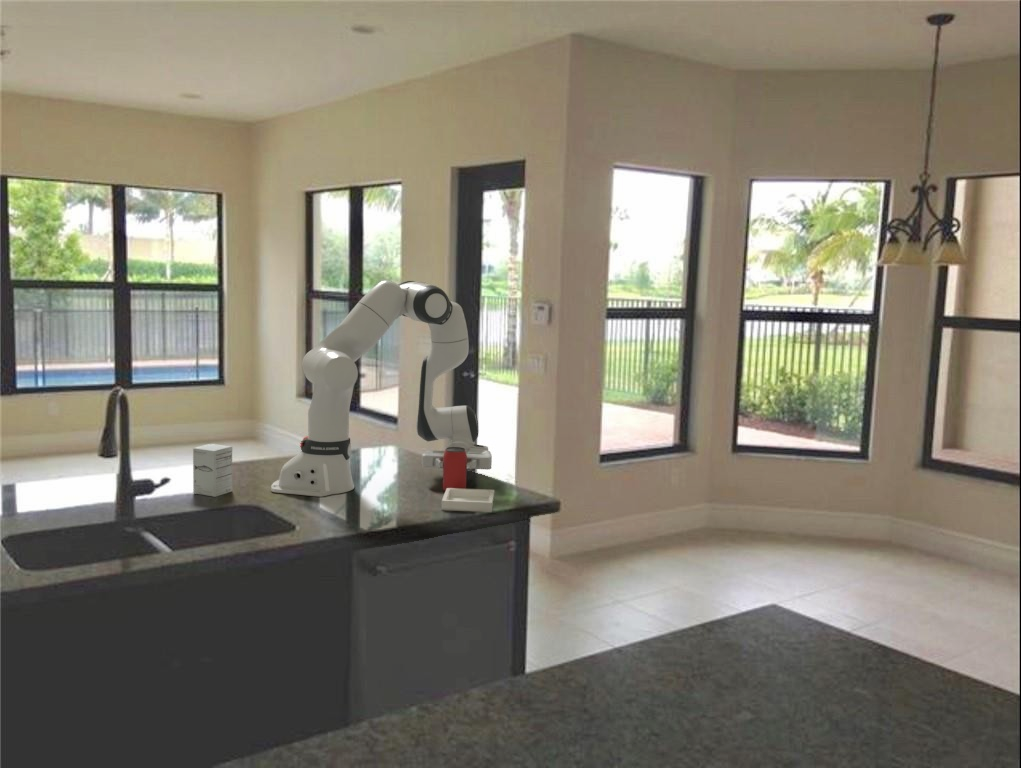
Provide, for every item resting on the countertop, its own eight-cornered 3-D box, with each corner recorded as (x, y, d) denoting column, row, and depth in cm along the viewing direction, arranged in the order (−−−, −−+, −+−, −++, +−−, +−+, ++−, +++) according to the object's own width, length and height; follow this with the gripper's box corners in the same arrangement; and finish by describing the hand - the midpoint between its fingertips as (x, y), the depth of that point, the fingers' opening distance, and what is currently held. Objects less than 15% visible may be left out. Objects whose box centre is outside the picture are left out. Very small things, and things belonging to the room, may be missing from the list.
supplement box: (192, 494, 224) (191, 447, 223) (211, 487, 231) (211, 442, 229) (214, 497, 221) (213, 450, 220) (233, 491, 228) (233, 445, 227)
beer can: (455, 494, 232) (456, 452, 231) (437, 490, 236) (438, 448, 235) (470, 490, 238) (471, 448, 236) (453, 486, 241) (454, 445, 240)
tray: (441, 510, 217) (441, 500, 217) (446, 496, 230) (446, 487, 230) (491, 512, 217) (492, 502, 216) (493, 498, 230) (494, 489, 229)
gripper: (424, 443, 249) (417, 453, 235) (493, 446, 248) (490, 456, 234) (423, 464, 249) (417, 475, 236) (492, 467, 249) (490, 478, 235)
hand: (454, 466), depth 235 cm, fingers closed on beer can, 7 cm apart
